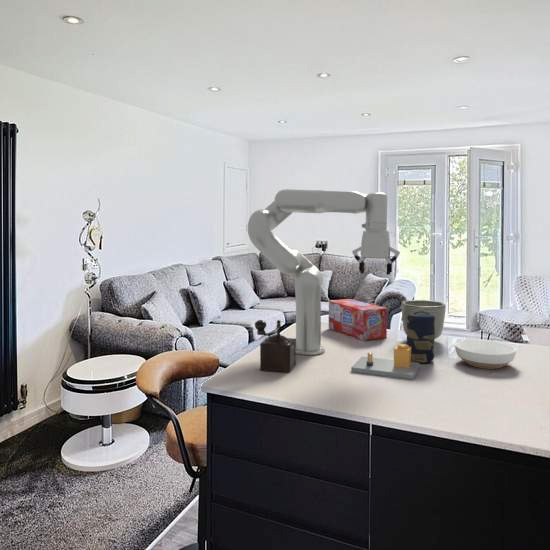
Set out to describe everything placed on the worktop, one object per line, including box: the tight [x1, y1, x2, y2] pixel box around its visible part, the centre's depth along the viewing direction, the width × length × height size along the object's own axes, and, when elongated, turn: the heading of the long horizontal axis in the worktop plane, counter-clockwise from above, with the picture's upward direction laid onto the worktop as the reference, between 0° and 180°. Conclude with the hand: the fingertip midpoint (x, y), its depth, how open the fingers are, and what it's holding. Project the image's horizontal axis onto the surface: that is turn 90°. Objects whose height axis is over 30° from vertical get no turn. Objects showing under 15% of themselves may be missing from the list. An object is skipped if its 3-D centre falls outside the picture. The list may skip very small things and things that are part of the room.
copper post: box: [367, 352, 373, 366], centre depth 162 cm, size 2×2×6 cm
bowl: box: [454, 339, 517, 370], centre depth 167 cm, size 20×20×6 cm
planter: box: [401, 299, 446, 341], centre depth 198 cm, size 17×17×16 cm
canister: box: [406, 311, 435, 364], centre depth 171 cm, size 10×10×18 cm
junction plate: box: [350, 355, 421, 380], centre depth 162 cm, size 20×14×2 cm
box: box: [328, 298, 388, 342], centre depth 213 cm, size 27×13×14 cm, turn 27°
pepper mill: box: [254, 319, 297, 374], centre depth 161 cm, size 16×11×18 cm
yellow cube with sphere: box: [393, 343, 412, 368], centre depth 161 cm, size 5×5×7 cm
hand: (375, 273), depth 177 cm, fingers open, 9 cm apart
